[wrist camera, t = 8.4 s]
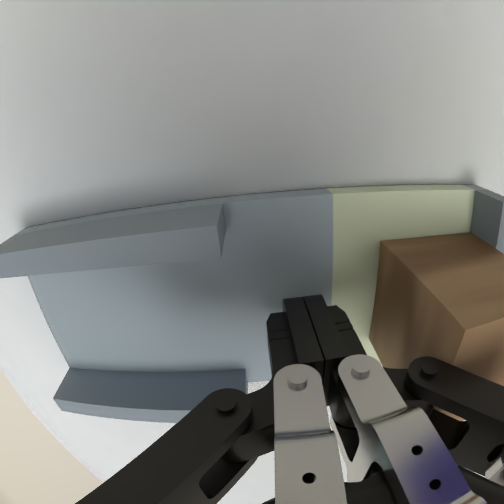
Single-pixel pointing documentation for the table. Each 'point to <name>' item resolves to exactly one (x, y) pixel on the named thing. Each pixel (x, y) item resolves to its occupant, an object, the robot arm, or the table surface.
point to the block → (440, 304)
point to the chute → (216, 283)
